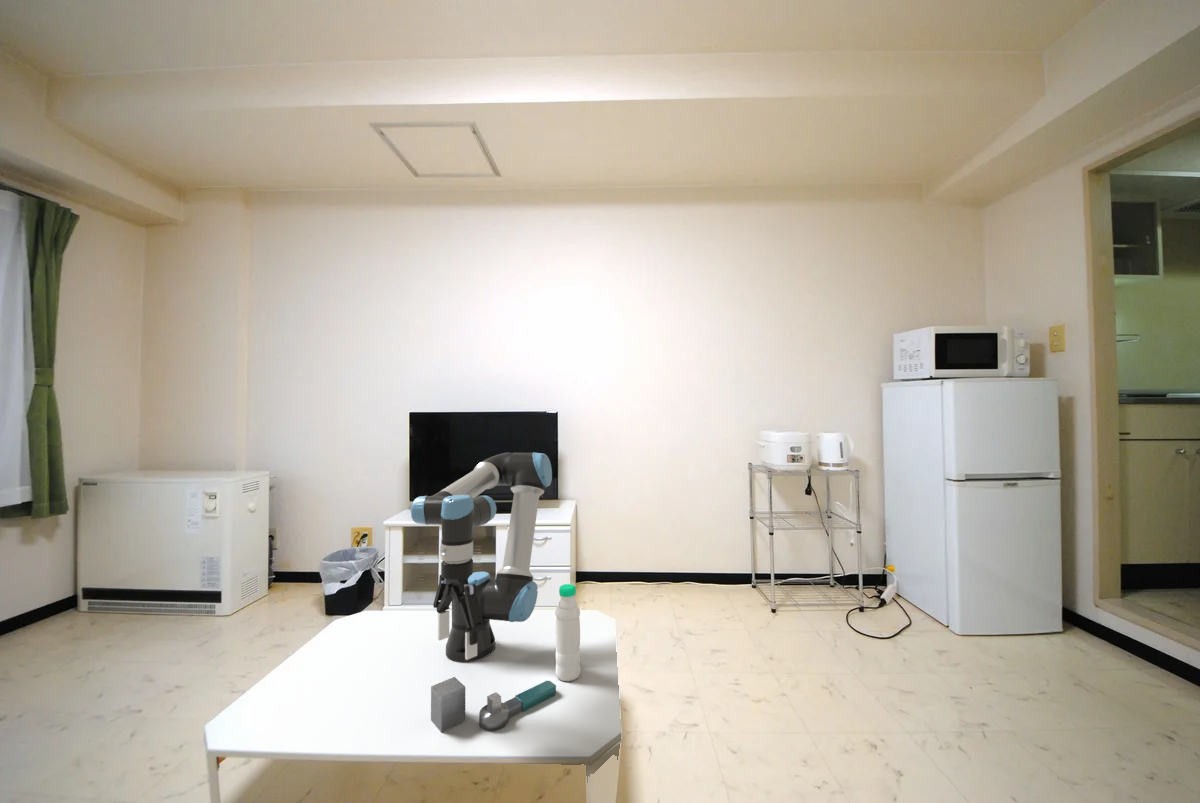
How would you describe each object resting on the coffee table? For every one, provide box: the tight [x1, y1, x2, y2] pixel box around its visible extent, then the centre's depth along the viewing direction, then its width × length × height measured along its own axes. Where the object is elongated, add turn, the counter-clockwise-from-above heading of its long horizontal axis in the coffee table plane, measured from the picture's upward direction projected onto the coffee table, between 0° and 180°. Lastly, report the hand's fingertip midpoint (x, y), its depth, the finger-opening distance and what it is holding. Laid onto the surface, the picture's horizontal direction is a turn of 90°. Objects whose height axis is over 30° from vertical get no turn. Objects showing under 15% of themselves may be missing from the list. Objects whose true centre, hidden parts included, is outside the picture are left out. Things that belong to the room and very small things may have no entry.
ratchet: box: [478, 680, 557, 732], centre depth 114 cm, size 21×7×6 cm, turn 133°
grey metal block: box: [430, 676, 466, 733], centre depth 110 cm, size 6×6×8 cm
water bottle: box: [554, 583, 581, 682], centre depth 130 cm, size 7×7×25 cm
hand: (456, 647), depth 111 cm, fingers open, 13 cm apart
